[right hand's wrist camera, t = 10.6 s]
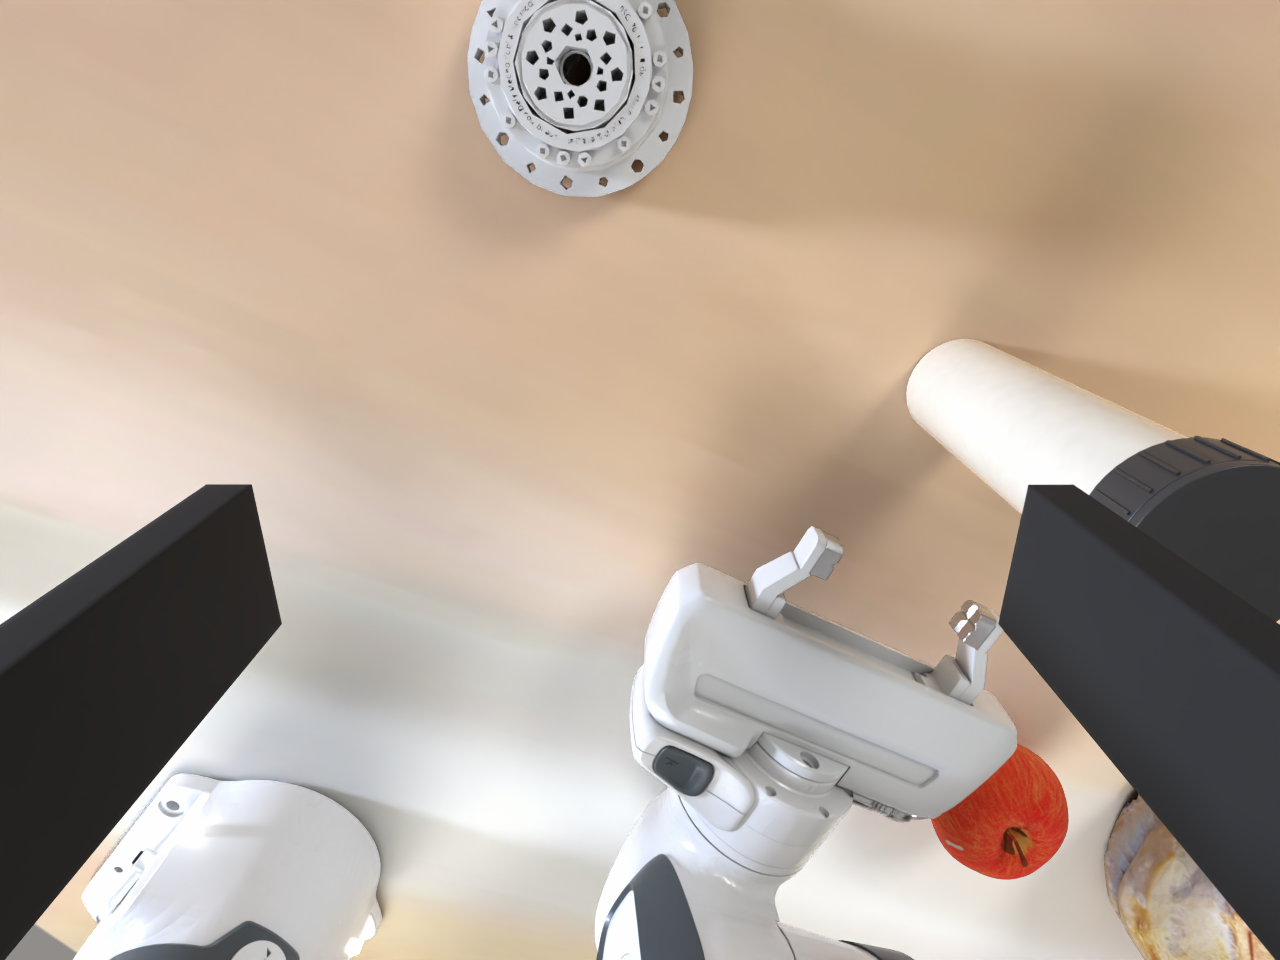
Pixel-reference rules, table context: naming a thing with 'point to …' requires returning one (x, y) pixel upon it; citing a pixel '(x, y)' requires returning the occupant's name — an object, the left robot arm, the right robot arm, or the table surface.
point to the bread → (1170, 896)
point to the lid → (1207, 511)
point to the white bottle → (1022, 421)
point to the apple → (1008, 820)
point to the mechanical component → (580, 88)
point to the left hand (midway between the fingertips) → (910, 574)
